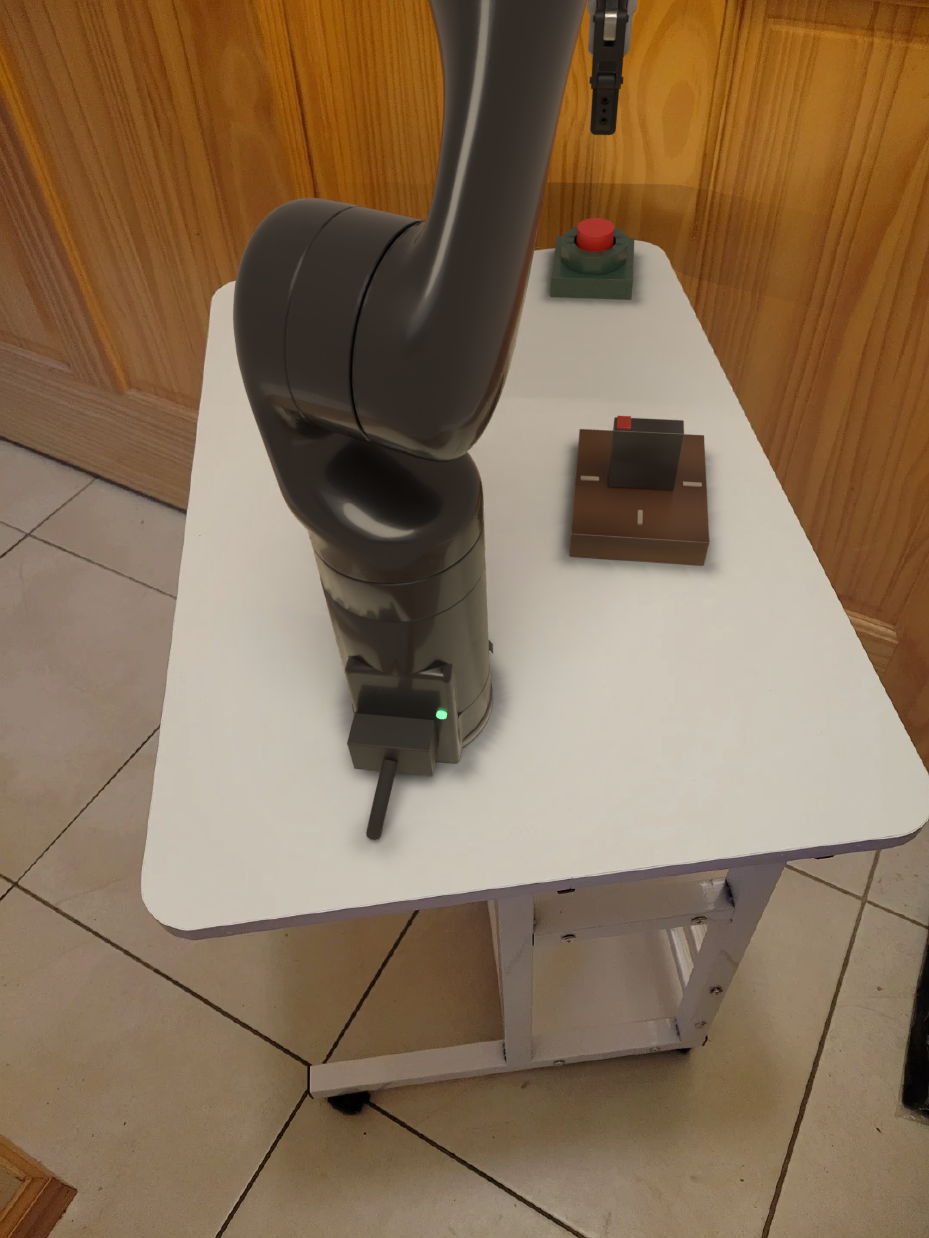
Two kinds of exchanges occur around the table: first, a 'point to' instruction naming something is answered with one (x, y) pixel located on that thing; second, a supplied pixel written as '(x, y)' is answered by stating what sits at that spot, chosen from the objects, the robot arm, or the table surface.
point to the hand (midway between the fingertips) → (604, 117)
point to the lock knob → (645, 453)
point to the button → (595, 234)
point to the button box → (593, 269)
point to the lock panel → (639, 508)
